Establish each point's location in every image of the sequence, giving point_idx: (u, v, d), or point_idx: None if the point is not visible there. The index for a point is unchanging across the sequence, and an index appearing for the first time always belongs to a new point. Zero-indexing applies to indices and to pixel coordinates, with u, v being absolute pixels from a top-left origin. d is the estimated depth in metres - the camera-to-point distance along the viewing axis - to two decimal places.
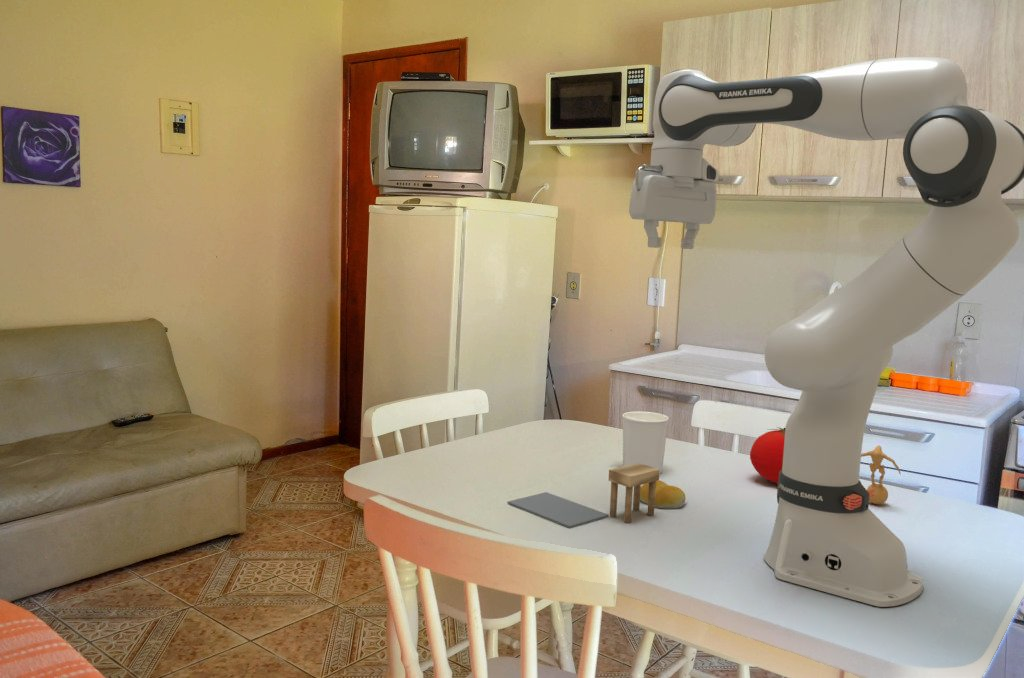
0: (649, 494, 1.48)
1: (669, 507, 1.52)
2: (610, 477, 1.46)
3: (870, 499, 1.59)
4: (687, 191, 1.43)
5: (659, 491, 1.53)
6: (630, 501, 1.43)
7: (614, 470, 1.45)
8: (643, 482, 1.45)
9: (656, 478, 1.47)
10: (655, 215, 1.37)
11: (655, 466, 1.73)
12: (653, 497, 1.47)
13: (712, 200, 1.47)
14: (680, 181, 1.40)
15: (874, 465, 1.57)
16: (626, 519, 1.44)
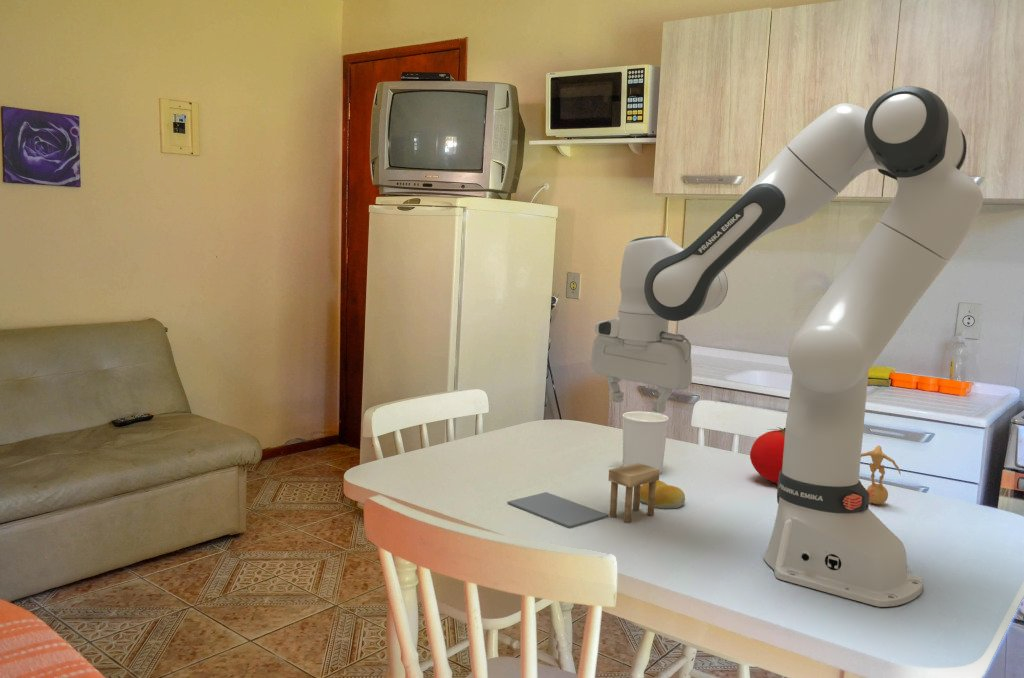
0: (649, 494, 1.48)
1: (669, 507, 1.52)
2: (610, 477, 1.46)
3: (870, 499, 1.59)
4: None
5: (659, 491, 1.53)
6: (630, 501, 1.43)
7: (614, 470, 1.45)
8: (643, 482, 1.45)
9: (656, 478, 1.47)
10: None
11: (655, 466, 1.73)
12: (653, 497, 1.47)
13: None
14: None
15: (874, 465, 1.57)
16: (626, 519, 1.44)
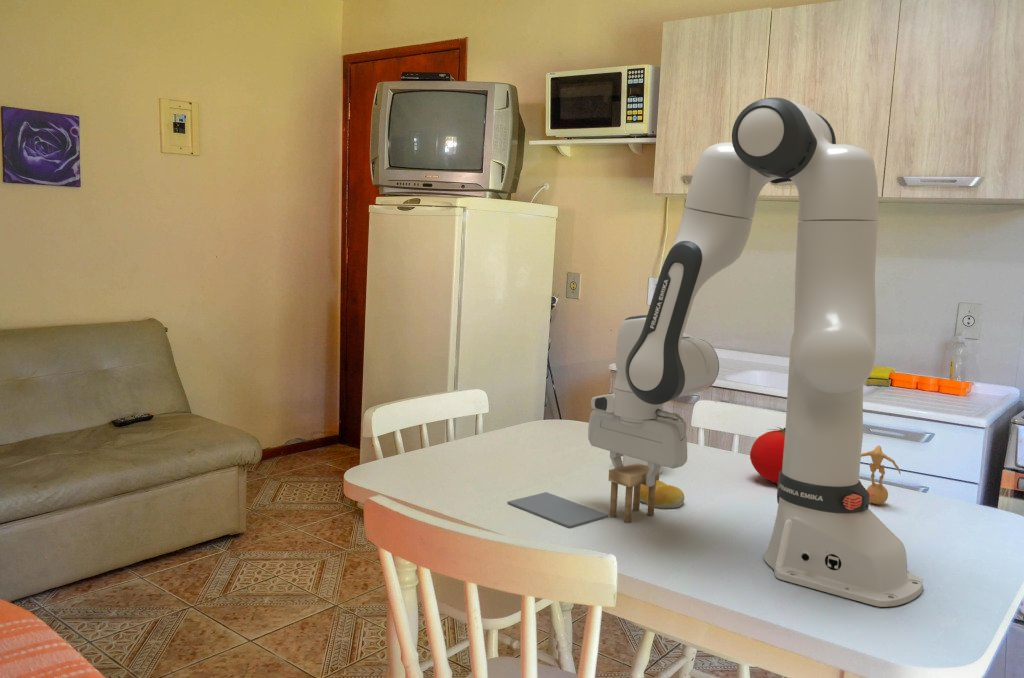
0: (649, 494, 1.48)
1: (668, 507, 1.52)
2: (610, 477, 1.46)
3: (870, 499, 1.59)
4: None
5: (658, 491, 1.53)
6: (630, 501, 1.43)
7: (614, 470, 1.45)
8: None
9: (656, 478, 1.47)
10: None
11: None
12: (653, 497, 1.47)
13: None
14: None
15: (874, 465, 1.57)
16: (626, 519, 1.44)
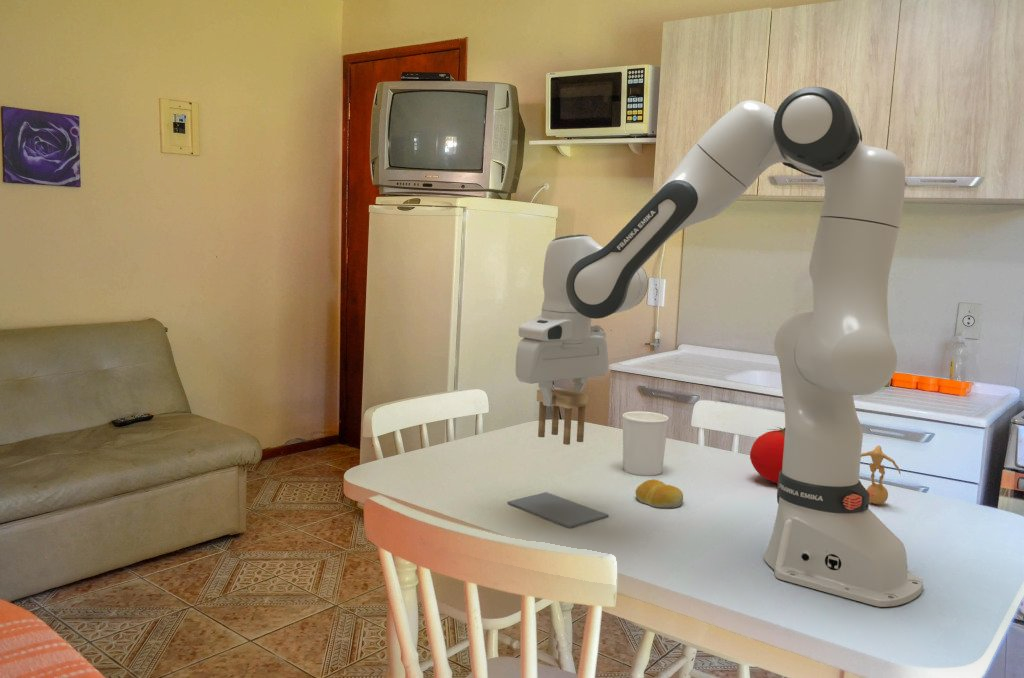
0: (557, 414, 1.50)
1: (667, 506, 1.52)
2: (570, 404, 1.42)
3: (870, 499, 1.59)
4: None
5: (657, 491, 1.53)
6: (583, 420, 1.46)
7: (570, 396, 1.43)
8: None
9: None
10: None
11: (655, 466, 1.73)
12: None
13: None
14: None
15: (874, 465, 1.57)
16: (583, 438, 1.46)
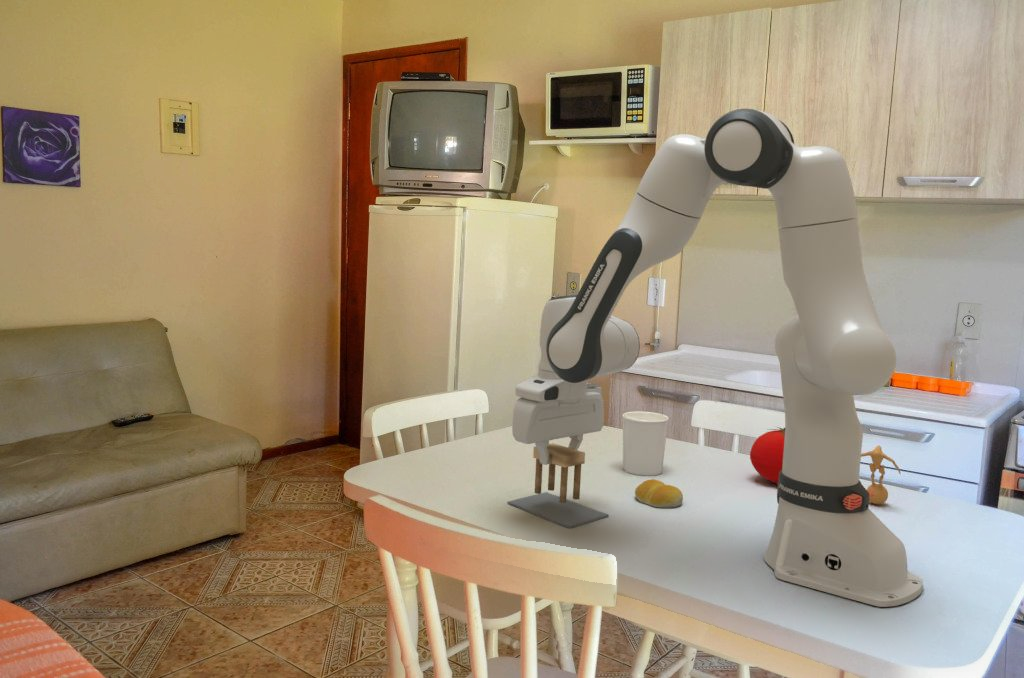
0: (553, 470, 1.51)
1: (667, 506, 1.52)
2: (566, 463, 1.43)
3: (870, 499, 1.59)
4: None
5: (657, 491, 1.53)
6: None
7: (566, 455, 1.44)
8: None
9: None
10: None
11: (655, 466, 1.73)
12: (554, 471, 1.52)
13: None
14: None
15: (874, 465, 1.57)
16: (579, 495, 1.47)
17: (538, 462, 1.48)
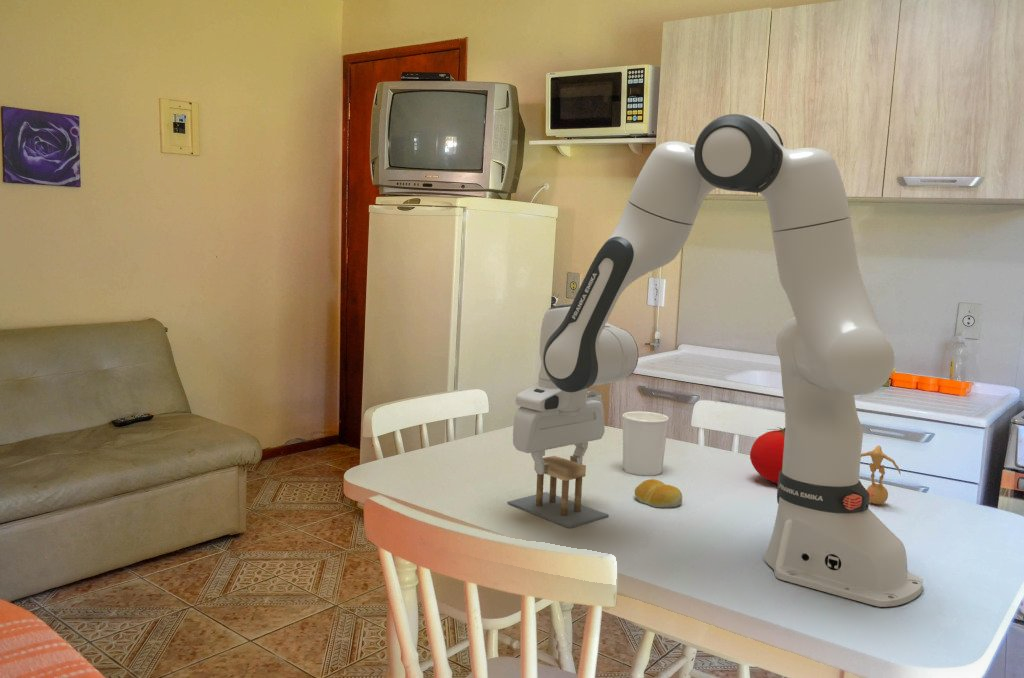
0: (555, 482, 1.51)
1: (666, 506, 1.53)
2: (567, 476, 1.44)
3: (870, 499, 1.59)
4: None
5: (656, 491, 1.53)
6: None
7: (567, 468, 1.44)
8: None
9: None
10: None
11: (655, 466, 1.73)
12: None
13: None
14: None
15: (874, 465, 1.57)
16: (580, 508, 1.47)
17: (539, 475, 1.49)
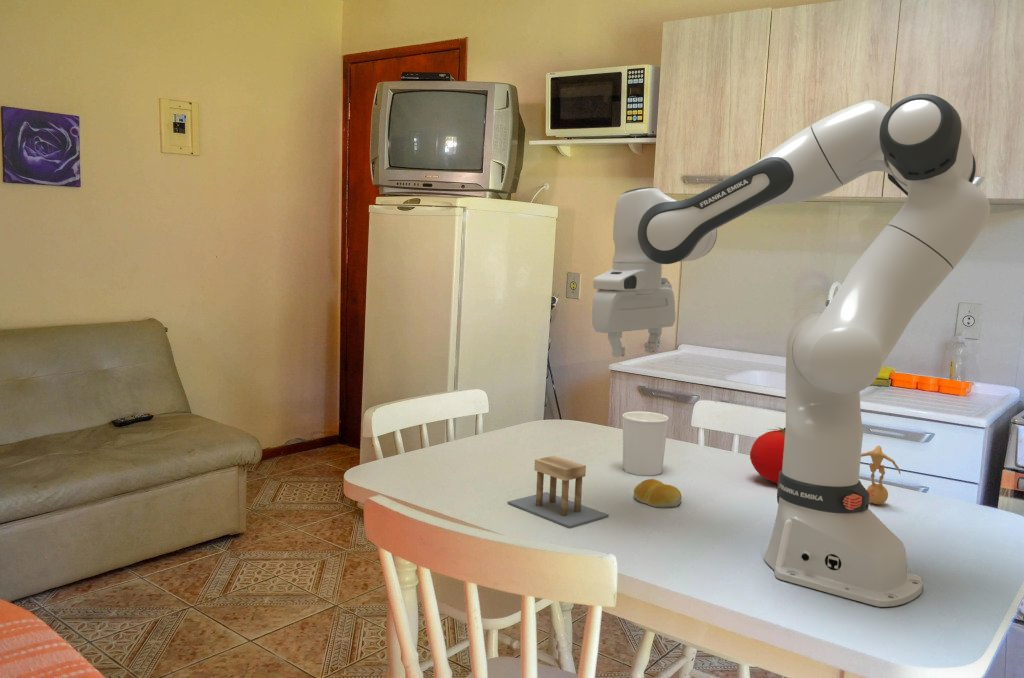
0: (555, 482, 1.51)
1: (666, 506, 1.53)
2: (567, 476, 1.44)
3: (870, 499, 1.59)
4: None
5: (655, 490, 1.54)
6: None
7: (567, 468, 1.44)
8: None
9: None
10: None
11: (655, 466, 1.73)
12: None
13: None
14: None
15: (874, 465, 1.57)
16: (580, 508, 1.47)
17: (539, 475, 1.49)
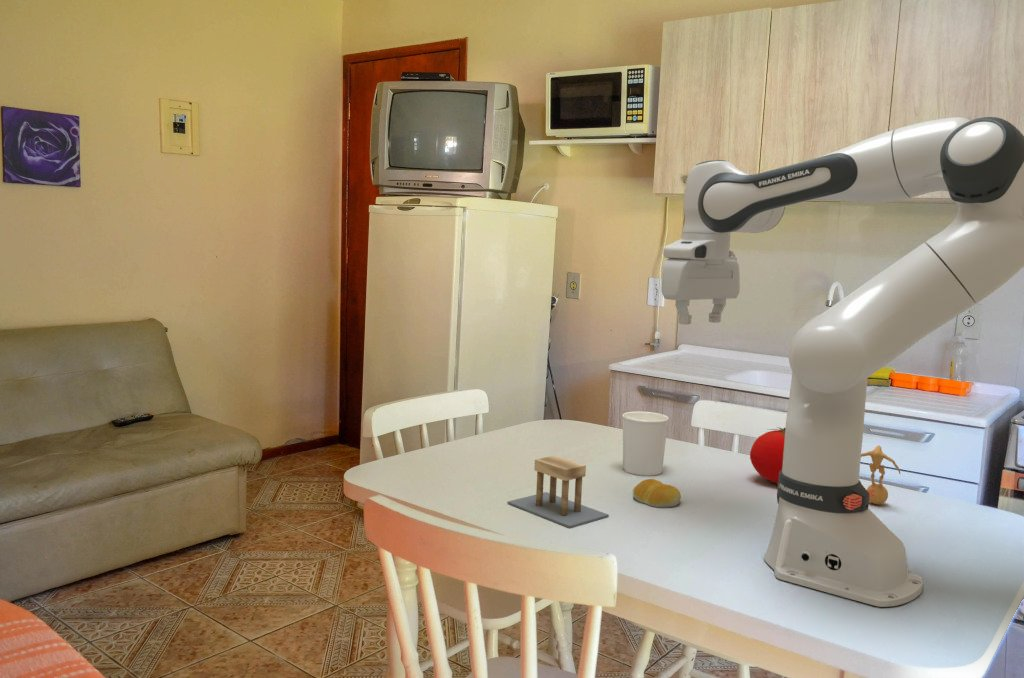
0: (555, 482, 1.51)
1: (665, 506, 1.53)
2: (567, 476, 1.44)
3: (870, 499, 1.59)
4: None
5: (655, 490, 1.54)
6: None
7: (567, 468, 1.44)
8: None
9: None
10: None
11: (655, 466, 1.73)
12: None
13: None
14: None
15: (874, 465, 1.57)
16: (580, 508, 1.47)
17: (539, 475, 1.49)
